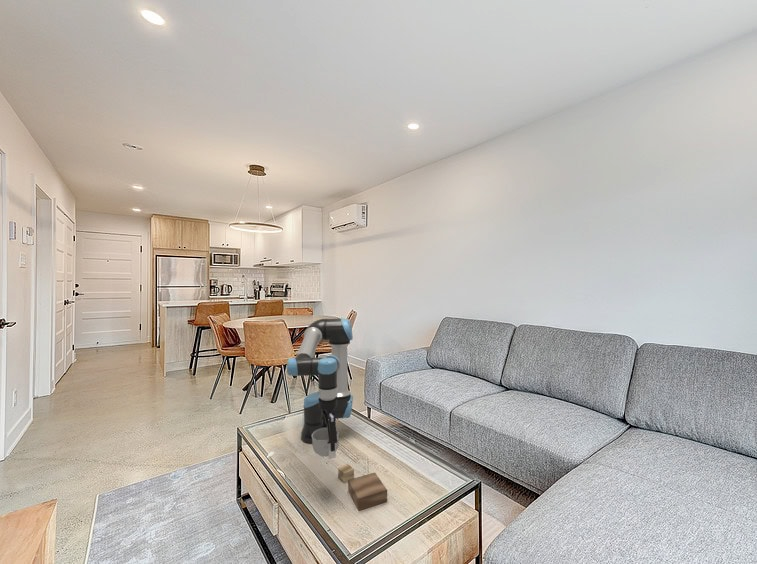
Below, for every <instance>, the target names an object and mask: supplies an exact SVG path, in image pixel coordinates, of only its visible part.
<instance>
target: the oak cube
mask: <svg viewBox="0 0 757 564" xmlns="http://www.w3.org/2000/svg"><path fill="white" fill-rule="evenodd" d="M337 476H338V479H339V480H340V481H341V482H342V483H344V484H346V483H347V482H348V480H350V479H353V478H355V468H354V467H352V466H351V465H350V464H349V463H346V464H344V465H342V466H339V467H338V468H337Z"/></svg>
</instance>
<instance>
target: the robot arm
mask: <svg viewBox="0 0 757 564" xmlns="http://www.w3.org/2000/svg"><path fill="white" fill-rule="evenodd" d="M353 339H354V338H353V329H352V323H351V320H350V319H348V318H321V319H317V320H316V321H313V322H312V323H310V324H309V325H308V326H307V327H306V329H305V331H304V332H303V340H302V342H301V344H300V347H299V349H298V351H297V354H296V355H295V357H290V358H288V360H287V363H286V373H287V375H288V376H291V377H304V376H305V377H306V376H307V377H308V376H313V377H314V376H315V377H316V376H317V377H318V382H317V383H318V390H316V392H312V393H309V394H307V395H306V396H305V398H304V400H303V406H302V407H303V427H302V428H301V432H300V440H301V441H302V442H303V443H306V444H310V445H313V443H312V434H313V432H314V431H316V430H318V429H321V428H326V427H327V429H328V436H329V442H327V443H328V449H329V456H328V460H332V459H336V458H337V454H336V453H337V450H336V443H337V433H336V426H337V425H336V419H349V418H350V417H351V415H352V409H353V402H354V396H353V395H352V394H351V390H349V387H348V382H349V381H348V376H349V375H348V374H349V373H348V370H349V369H348V346H349V345H350V343H351V341H353ZM321 341H328V345H329V346H331V355H327V356H326V357H325V356H324V357H314V356H315V354H316V350H317V348H318V345H319V343H320V342H321Z"/></svg>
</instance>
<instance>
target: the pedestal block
mask: <svg viewBox="0 0 757 564" xmlns="http://www.w3.org/2000/svg"><path fill="white" fill-rule="evenodd" d="M347 487H348V488H347V490H348V492H349V494H350V496H351V498H352V500H353V502H354V504H355V506H356V508H357V510H358V512H359V511H362V510H365V509H368V508H371V507H374V506H377V505H380V504H383V503H386V502H387V500H388V489H387V488H386V486H385V485H384V483H383V482H382V480H381V479H380V477H379V476H378V474H377V473H376V472H372V473H368V474H365V475H361V476H357V477H354V478H353V479H350V480H348V483H347ZM371 509H372V508H371ZM368 510H369V509H368ZM365 511H366V510H365ZM362 512H363V511H362ZM359 513H360V512H359Z"/></svg>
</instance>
